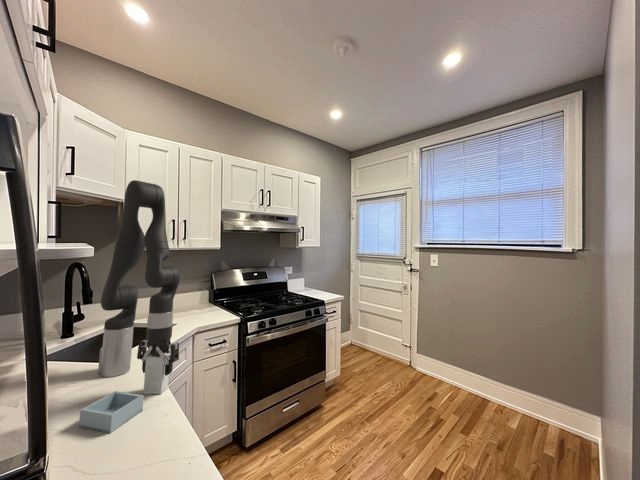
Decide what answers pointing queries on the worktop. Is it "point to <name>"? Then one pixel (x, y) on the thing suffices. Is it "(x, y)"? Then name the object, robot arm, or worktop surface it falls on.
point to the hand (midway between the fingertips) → (156, 373)
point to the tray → (111, 411)
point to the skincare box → (155, 375)
